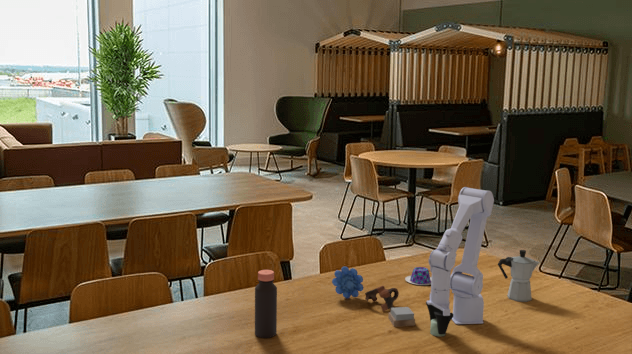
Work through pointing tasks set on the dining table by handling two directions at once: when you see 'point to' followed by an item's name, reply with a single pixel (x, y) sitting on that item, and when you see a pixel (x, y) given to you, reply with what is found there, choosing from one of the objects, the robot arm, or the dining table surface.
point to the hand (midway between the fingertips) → (438, 329)
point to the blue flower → (348, 282)
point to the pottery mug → (383, 296)
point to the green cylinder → (435, 328)
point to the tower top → (402, 313)
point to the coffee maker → (519, 276)
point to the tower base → (400, 321)
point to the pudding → (419, 276)
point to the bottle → (265, 305)
